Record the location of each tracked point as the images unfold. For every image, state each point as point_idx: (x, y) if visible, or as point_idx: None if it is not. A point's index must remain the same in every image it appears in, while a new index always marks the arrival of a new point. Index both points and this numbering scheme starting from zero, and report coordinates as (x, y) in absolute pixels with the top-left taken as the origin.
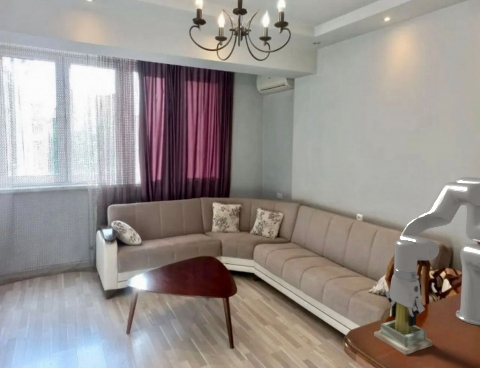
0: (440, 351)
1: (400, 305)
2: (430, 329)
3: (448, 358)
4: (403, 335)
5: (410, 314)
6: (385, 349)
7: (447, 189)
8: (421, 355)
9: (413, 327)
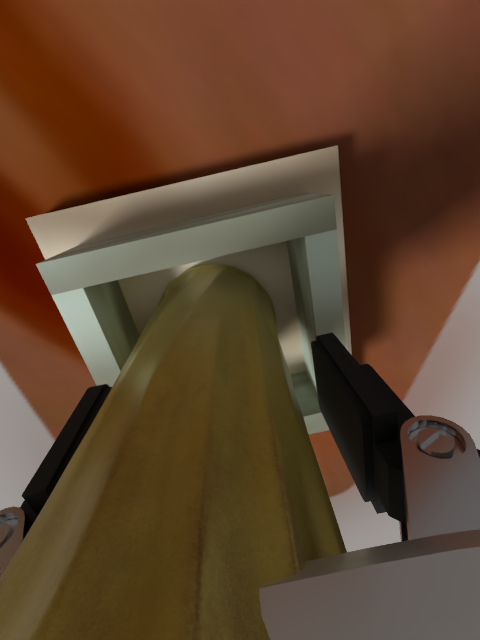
0: (402, 157)
1: None
2: None
3: (476, 172)
4: (323, 419)
5: (405, 524)
6: None
7: None
8: (380, 311)
9: (223, 254)
